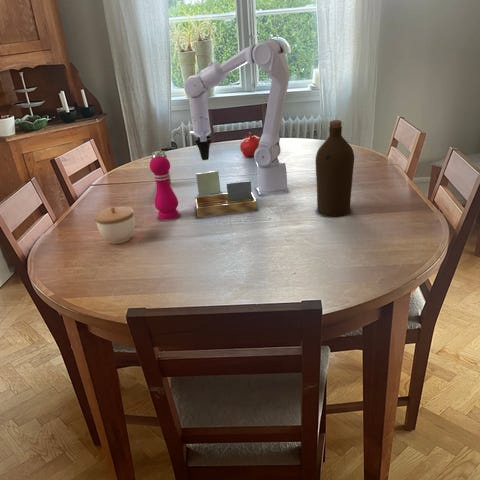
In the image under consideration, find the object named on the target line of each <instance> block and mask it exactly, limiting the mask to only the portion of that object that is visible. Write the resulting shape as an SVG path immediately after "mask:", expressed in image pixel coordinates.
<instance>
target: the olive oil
mask: <svg viewBox="0 0 480 480" xmlns="http://www.w3.org/2000/svg"><path fill="white" fill-rule="evenodd" d="M342 122H343V121H342V120H337V119H335V120H330V121H329V127H328V137H327V138H326V139H325V140H324V142H323V143H321V145H320V146H319V147H318V149H317V150H316V151H317V152H316V154H315V177H316V204H317V205H316V206H317V208H316V209H317V213H318V214H319V215H321V216H324V217H329V218H331V217H333V218H336V217H341V216H345V215H348V214H349V213H350V210H351V201H352V187H353V178H354V177H353V175H354V166H355V153H354V150H353V148H352V146H351V144H350V143H348V141H347V140H346V139H345V137H343V135H342V133H343V132H342V131H343V126H342Z"/></svg>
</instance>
